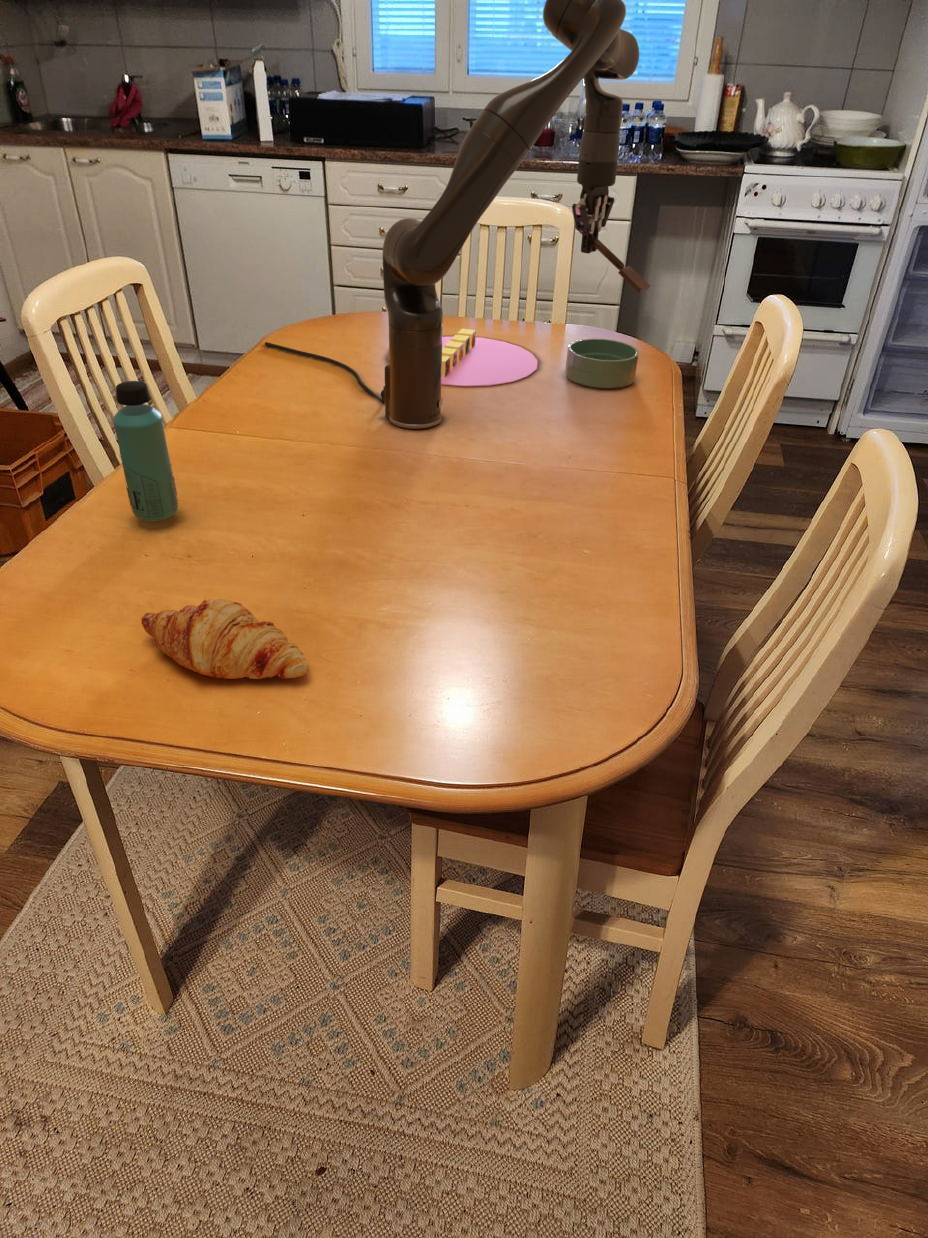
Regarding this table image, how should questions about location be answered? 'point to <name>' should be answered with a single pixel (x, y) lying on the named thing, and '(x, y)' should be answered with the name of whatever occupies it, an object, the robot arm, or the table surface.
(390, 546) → the table surface
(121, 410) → the beverage bottle
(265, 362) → the table surface
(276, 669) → the croissant
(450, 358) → the platter
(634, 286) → the spatula
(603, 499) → the table surface
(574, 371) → the bowl
